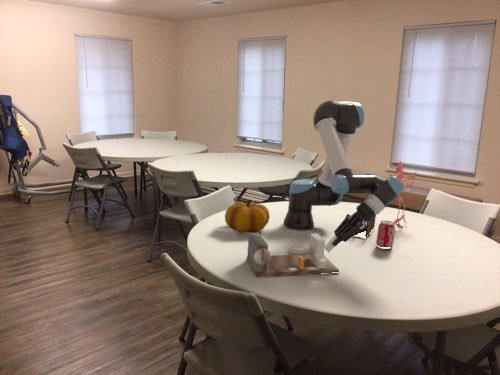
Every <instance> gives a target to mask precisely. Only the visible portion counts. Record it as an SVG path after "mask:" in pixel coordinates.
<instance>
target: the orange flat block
mask: <svg viewBox="0 0 500 375" xmlns="http://www.w3.org/2000/svg"><path fill="white" fill-rule="evenodd" d="M298 267H299V268H300V269H304V258H303V257H302V256H299V257H298Z"/></svg>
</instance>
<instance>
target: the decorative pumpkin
mask: <svg viewBox="0 0 500 375" xmlns="http://www.w3.org/2000/svg"><path fill="white" fill-rule="evenodd" d="M224 220H225V224H226V226H228V227H229V228H230V229H232V230H234V231H238V232H240V233H242V234H249V233H260V232H261V231H262V230H264V229H265V227H266V226H267V224H268V223H269V221H270V211H269V209H268V207H267V206H266V205H264V204H260V203H255V201H253V200H252V199H249V201H247V202H244V201H236V202H234V204H232V205H230V206H229V207H228V208H227V210H226V211H225V214H224Z"/></svg>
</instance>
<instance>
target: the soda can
mask: <svg viewBox="0 0 500 375" xmlns="http://www.w3.org/2000/svg"><path fill="white" fill-rule="evenodd" d="M393 222H394V221H391V220H380V222H379V223H378V226H377V227H378V228H377V234H376V235H377V236H376V244H377V245H378V246H380V247H392V248H393V245H394V239H395V232H396V225H395V226H394V223H393ZM377 245H376V246H377Z"/></svg>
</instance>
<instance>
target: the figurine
mask: <svg viewBox="0 0 500 375" xmlns="http://www.w3.org/2000/svg"><path fill="white" fill-rule="evenodd" d="M404 165H405V162H402V160H399V161H398V164H397V166H395V175H394V176H395V177H396V178H398V179H399V180H400V181H401V182H402V183H403V185H404V188H405V187H406V186H411V187H413V184H414V181H415V178H416V176H417V172H413V173H411V174H409V176H407V179H406V177H405V175H404V170H403V169H404ZM403 180H404V181H403ZM411 180H412V182H411V183H409V181H411ZM404 182H405V184H404ZM396 200H397V202H398V206H399V207H401V204H400V203H403V204H404V205H403V210H402V215H401V216H400V218H399V214H400V211H401V208H399V209H398V213H397V218H396V219H395V220H394V221H392V222H393V223H394V226H395V227H396V225H398V227H399V228H400V227H401V224H400V222H401V221H402V220H403V221H404V224H405V223H406V224H407V221H406V219H405V216H406V215H405V214H404V212H405V209H406V204H405V201H404V200H403V197H401V193H400V194H399V196H398V197H397V199H396ZM397 222H398V223H397ZM401 228H402V227H401Z"/></svg>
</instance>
